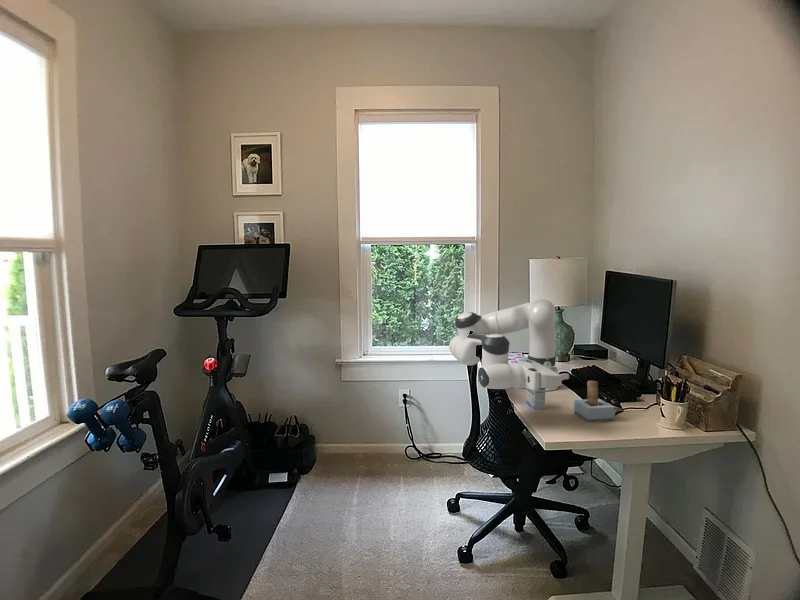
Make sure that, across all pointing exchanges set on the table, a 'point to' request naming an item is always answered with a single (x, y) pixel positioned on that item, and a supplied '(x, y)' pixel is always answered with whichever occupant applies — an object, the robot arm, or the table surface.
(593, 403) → the dowel
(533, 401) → the medicine box
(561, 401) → the table surface
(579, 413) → the socket block
